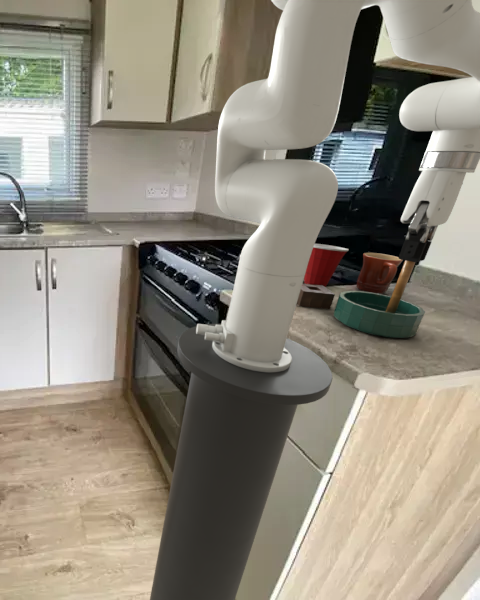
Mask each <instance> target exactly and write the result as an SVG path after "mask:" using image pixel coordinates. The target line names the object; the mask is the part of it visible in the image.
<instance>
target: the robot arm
mask: <svg viewBox="0 0 480 600" xmlns="http://www.w3.org/2000/svg"><path fill="white" fill-rule="evenodd" d="M270 1H271V2H272V3H273V6H275V7H276V8H277V9H279V10H281V11H282V12H281V15H280V18H279V20H278V24H277V26H276V30H275V35H274V41H273V50H272V54H271V60H270V61H271V62H270V68H269V73H268V77H267V78H264V79H259V80H255V81H251V82H248V83H245V84H244V85H242V86H240V87H238V88H236V90H235V91H234V92H233V93H232V94H231V95H230V96H229V98H228V99H227V100H226V102H225V104H224V106H223V108H222V111H221V114H220V116H219V121H218V126H217V128H218V129H217V138H216V139H217V140H216V154H215V155H216V159H215V161H216V162H215V176H214V177H215V179H214V194H215V195H214V196H215V202H216V205H217V207H218V209H219V210H220V211H221V212H222V213H223V214H224V215H225V216H227V217H231V218H234V219H238V220H241V221H242V220H243V221H247V222H252V223H253V222H254V223H257V224H259V226H258V227H257V228H256V230H255V231H254V232H253V233H252V234H251V236H250V237H249V238H248V239H247V241H246V242H245V243H244V245H243V247H242V250H241V252H240V254H239V255H240V256H239V260H238V266H237V269H236V274H235V278H234V279H235V280H234V283H233V289H232V294H231V298H230V303H229V308H228V312H227V317H226V320H225V319H222V320H221V323H220V324H221V325H217V324H218V323H215V324H216V325H215V326H208V325H205V324H206V323H205V324H204V323H197V324H196V326H197V328H196V334H200V335H205V340H210V341H213V343H212V347H213V350H214V351H215V353H216V354H217V355H218V356H220V357H221V358H222V359H224V360H225V361H227V362H229V363H231V364H233V365H236V366H238V367H241V368H244V369H248V370H252V371H258V372H268V373H271V372H280V371H284V370H286V369H288V368H289V367H290V365H291V362H292V356H291V354H290V353H289V352H288V350H286V349H285V348H284V346H285V343H286V339H287V338H288V335H289V333H290V329H291V325H292V322H293V318H294V315H295V311H296V307H297V305H298V304H297V301H298V297H299V294H300V290H301V287H302V284H304V276H305V273H306V269H307V266H308V262H309V259H310V256H311V253H312V249H313V247H314V244H316V242H317V238H318V237H319V236H318V235H320V231H321V229H322V228H323V225H324V223H325V222H326V219H327V218H328V216H329V214H330V212H331V210H332V208H333V206H334V204H335V202H336V199H337V196H338V192H339V191H338V190H339V183H338V182H339V181H338V177H337V175H336V174H335V172H334V170H333V169H331V167H329V166H328V165H326V164H324V163H322V162H319V161H316V160H315V161H314V160H311V159H299V158H296V159H295V158H288V159H287V158H285V159H284V158H274V159H266V152H267V151H277V150H278V151H279V150H280V151H281V150H284V151H285V150H298V149H299V150H302V149H307V148H312V147H314V146H317V145H319V144H321V143H323V142H324V141H325V140H327V138H328V137H329V136H330V135H331V133H332V132H333V130H334V127H335V124H336V121H337V118H338V114H339V111H340V105H341V100H342V94H343V89H344V84H345V77H346V74H347V73H346V72H347V68H348V62H349V56H350V52H351V51H350V50H351V45H352V41H353V36H354V31H355V27H356V23H357V22H358V18H359V16H360V12H361V10H364V9H367V8H371V7H374V6H378V7H379V9H380V12H381V15H382V18H383V21H384V24H385V25H384V26H385V28H386V29H385V30H386V32H387V36H388V40H389V43H390V46H391V50H392V52H393V54H394V55H395V56H397V57H398V58H399V59H403V60H406V61H409V62H414V63H418V64H424V65H430V66H437V67H445V68H449V69H454V70H458V71H461V72H463V73H465V74H467V75H469V76H470V77H463V78H456V79H451V80H444V81H437V82H431V83H428V84H425V85H422V86H419V87H417V88H415V89H414V90H413V91H412V92H410V93H409V94H408V95H407V96H406V97H405V99H404V100H403V102H402V103H401V105H400V108H399V112H398V113H399V114H398V116H399V121H400V123H401V125H402V126H403V127H404V128H406V129H407V130H410V131H412V132H413V131H414V132H432V133H431V136H430V139H429V141H428V144H427V147H426V150H425V152H424V155H423V158H422V161H421V163H420V166H419V169H418V171H419V172H420V174H419V177H418V179H417V180H416V182H415V183H414V186H413V189H412V191H411V193H410V196H409V198H408V200H407V203H406V204H405V207H404V209H403V212H402V215H401V217H400V222H401V223H402V224H409V225H408V230H407V233H406V236H405V239H404V242H403V244H402V247H401V250H400V252H399V255H398V257H399V259H401V260H403V261H405V260H406V261H411V262H415V263H419V262H423V261H425V259H426V257H427V254H428V252H429V250H430V247H431V245H432V241H433V239H434V236H435V234H436V232H437V229H438V226H442V225H444V224H446V223H447V222H448V220H449V218H450V216H451V214H452V212H453V210H454V207H455V205H456V201H457V200H458V197H459V195H460V191H461V189H462V186H463V185H464V180H465V177H466V174H467V173H470V174H471V173H472V174H473V173H475V172H476V169H477V167H478V164H479V163H480V11H478V10H475V8H474V6H473V1H472V0H270ZM428 233H429V235H428ZM427 235H428V237H427ZM426 237H427V240H426ZM425 240H426V242H425Z"/></svg>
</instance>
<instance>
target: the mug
mask: <svg viewBox="0 0 480 600" xmlns="http://www.w3.org/2000/svg"><path fill="white" fill-rule="evenodd" d="M362 258H363V260H362V267H361V269H360V272H359V274H358V277H357V279H356V285H355V286H356V287H355V288H357V289H358V291H363V292H371V293H377V294H382V295H384V294H385V293H387V291H388V290H389V289H390V287H391V284H392V281H393V280H394V279H395V276H396V274H397V271H398V267H399V266H400V265H401V263H402V262H403V261H404V260H401V259H399V256H395V255H390V254H385V253H377V252H364V253H363V254H362Z"/></svg>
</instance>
